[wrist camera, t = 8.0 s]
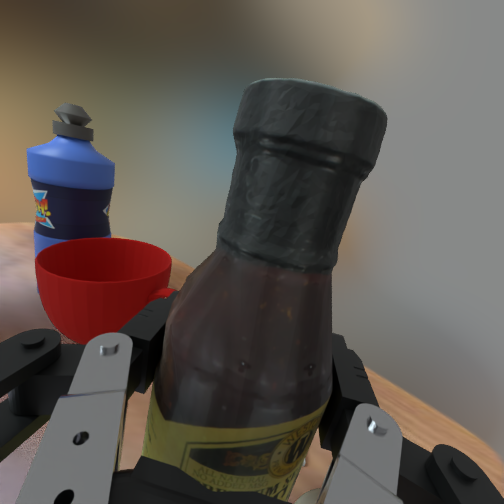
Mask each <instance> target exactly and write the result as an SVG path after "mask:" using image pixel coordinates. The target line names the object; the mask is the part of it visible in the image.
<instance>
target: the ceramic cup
mask: <svg viewBox="0 0 504 504" xmlns="http://www.w3.org/2000/svg"><path fill="white" fill-rule="evenodd" d="M171 265H172V259H171V257H170V255H169V254H168V253H167V252H166V251H164V250H163V249H161V248H159V247H157V246H154V245H151V244H148V243H145V242H140V241H136V240H129V239H121V238H83V239H75V240H69V241H64V242H60V243H57V244H54V245H51V246H49V247H47V248H45V249H43V250H42V251H41V252H39V253H38V255H37V256H36V258H35V270H36V278H37V284H38V289H39V294H40V298H41V301H42V304H43V307H44V309H45V311H46V313H47V315H48V317H49V318H50V320H51V322H52V323H53V325H54V326H55V327H56V328H57V329H58V330H59V331H60V332H61V333H63V334H64V335H65V336H67V337H68V338H69V339H71V340H73V341H75V342H77V343H79V344H82V345H83V344H87V343H88V342H89V341H90V340H92V339H93V338H95V337H97V336H99V335H102V334H105V333H116V332H118V331H119V330H120V329H121V328H122V327H123V326H124V325H125V324H126V323H127V322H129V321H130V320H131V319H132V318H133V317H134V316H135V315H137V314H138V313H139V312H140V311H141V310H143V308H144V307H145V306H146V305H147V304H148V303H150V302H151V301H154V300H156V299H159V298H163V299H164V298H165V297H168V296H169V295H170V294H171V293H172V292H173V291H177V290H174V289H171V288H167V287H168V283H169V278H170V272H171Z"/></svg>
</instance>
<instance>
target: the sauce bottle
mask: <svg viewBox="0 0 504 504" xmlns="http://www.w3.org/2000/svg"><path fill="white" fill-rule="evenodd" d="M386 127H387V115H386V113H385V112H384V110H383V109H382V108H381V107H380V106H379V105H378V104H377V103H376V102H374V101H372V100H369V99H367V98H364V97H362V96H360V95H358V94H356V93H351V92H346V91H343V90H340V89H338V88H335V87H333V86H330V85H325V84H321V83H317V82H311V81H306V80H303V79H296V78H290V79H282V78H269V79H262V80H258V81H256V82H253V83H251V84H249V85H248V86H247V87H245V89H244V93H243V96H242V99H241V102H240V106H239V109H238V113H237V116H236V120H235V123H234V127H233V135H234V140H235V144H236V149H237V156H236V162H235V166H234V169H233V173H232V181H231V186H230V190H229V194H228V198H227V202H226V208H225V213H224V218H223V219H222V221H221V222H220V223H219V227H218V232H217V245H216V249H215V251H214V252H212V254H211V255H210V256H209V257H208V258H207V259H205V260H204V261H203V262H202V263H201V265H199V266H198V267H197V268H196V269H195V270H194V271H193V272H192V273H191V274H190V275H189V276H188V277H187V278H186V282H185V283H184V285H183V287H182V288H181V290H180V291H179V293H178V295H177V297H176V298H175V299H174V301H173V303H172V305H171V309H170V311H169V315H168V318H167V321H166V328H165V336H164V341H163V350H162V355H161V358H160V360H159V361H158V364H157V366H156V369H155V374H154V379H153V385H152V392H151V398H150V405H149V411H148V417H147V424H146V430H145V437H144V443H143V449H142V456H145V457H148V458H151V459H154V460H157V461H160V462H164V463H167V464H170V465H173V466H176V467H178V468H180V469H181V470H182V471H184V472H185V473H187V474H188V475H189V476H191V477H192V478H194V479H195V480H196V481H198V482H199V483H201V484H202V485H203V486H205V487H206V488H208V489H209V490H211V491H216V492H224V491H255V492H258V493H261V494H264V495H267V496H270V497H273V498H276V499H280V500H283V501H286V502H288V499H289V496H290V493H291V491H292V488H293V486H294V484H295V481H296V479H297V477H298V474H299V472H300V469H301V467H302V465H303V462H304V459H305V457H306V454H307V452H308V450H309V447H310V445H311V442H312V440H313V438H314V435H315V433H316V430H317V428H318V426H319V423H320V421H321V418H322V416H323V414H324V412H325V409H326V406H327V403H328V401H329V398H330V396H331V393H332V389H333V382H332V284H331V283H332V274H331V273H332V270H333V267H334V266H335V265H336V263H337V258H338V247H339V244H340V241H341V238H342V235H343V232H344V230H345V228H346V224H347V221H348V218H349V216H350V213H351V210H352V207H353V204H354V201H355V198H356V195H357V193H358V190H359V188H360V185H361V183H362V182H363V181H364V180H365V179H366V178H367V177H368V175H369V173H370V172H371V171H372V169H373V168H374V166H375V164H376V160H377V157H378V154H379V152H380V148H381V143H382V140H383V137H384V134H385V131H386Z"/></svg>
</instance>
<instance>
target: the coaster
mask: <svg viewBox="0 0 504 504" xmlns="http://www.w3.org/2000/svg"><path fill="white" fill-rule="evenodd" d="M320 490H321V488H318V489H314V490H310V491H308V492H306V493H304V494H303V495H302V496H301V497H299V499H298V500H297V501H296V502H295V503H294V504H315V503H316V500H317V498H318V495H319V492H320Z"/></svg>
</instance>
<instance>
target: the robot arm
mask: <svg viewBox="0 0 504 504" xmlns="http://www.w3.org/2000/svg"><path fill="white" fill-rule="evenodd" d="M178 293H179V291H173V292H172V293H171V294H170V295H169V296H168V297H167V298H166V299H163V298H159V299H156V300H154V301H151V302H150V303H148V304H147V305H146V306H145V307H144V308H143V310H141V311H140V312H139V313H138V314H137V315H135V316H134V317H133V318H132V319H131V320H130V321H129V322H127V323H126V324H125V325H124V326H123V327H122V328H121V329H120V330H119V331H118V332H116V333H105V334H102V335H99V336H97V337H95V338H93V339H92V340H90V341H89V342H88V343H87V344H83V345H82V344H61V336H60V334H59V333H58V332H57V331H55V330H51V329H34V330H29V331H25V332H22V333H20V334H17V335H15V336H13V337H11V338H9V339H7V340H5V341H3V342H1V343H0V398H1V397H2V396H4V395H5V394H7V393H8V397H9V398H7V399H6V400H4V401H3V402H2V403H0V462H1V461H2V460H4V459H5V458H6V457H7V456H8V455H9V454H11V453H12V452H13V451H14V450H15V449H16V448H17V447H19V446H20V445H21V444H22V443H23V442H24V441H25V440H27V439H28V438H29V437H30V436H31V435H32V434H34V433H35V432H36V431H37V430H38V429H39V428H40V427H42V426H43V425H44V424H45V423H46V422H47V421H49V423H48V425H47V428H46V430H45V433H44V435H43V438H42V440H41V442H40V445H39V447H38V450H37V452H36V455H35V457H34V460H33V462H32V464H31V467H30V469H29V472H28V474H27V477H26V479H25V482H24V484H23V486H22V489H21V491H20V494H19V496H18V499H17V501H16V504H292V503H289V502H286V501H283V500H280V499H276V498H273V497H270V496H267V495H264V494H261V493H258V492H255V491H224V492H216V491H211V490H209V489H208V488H206V487H205V486H203V485H202V484H201V483H199V482H198V481H196V480H195V479H194V478H192V477H191V476H189V475H188V474H187V473H185V472H184V471H182V470H181V469H180V468H178V467H176V466H173V465H170V464H167V463H164V462H160V461H157V460H154V459H151V458H148V457H145V456H142V455H141V457H140V459H139V460H138V462H137V464H136V466H135V468H134V469H127V470H120V461H121V453H122V445H123V437H124V430H125V422H126V414H127V407H128V399H129V398H130V397H131V395H132V394H133V393H134V391H136V392H139V393H143V394H144V393H145V392H146V390H147V389H148V387H149V386H150V384H151V383H152V381H153V379H154V374H155V369H156V366H157V364H158V361H159V360H160V358H161V355H162V350H163V341H164V336H165V328H166V321H167V318H168V315H169V311H170V309H171V305H172V303H173V301H174V299H175V298H176V297H177V295H178ZM332 382H333V389H332V393H331V396H330V398H329V401H328V403H327V406H326V409H325V412H324V414H323V416H322V418H321V421H320V423H319V426H318V428H319V437H320V445H321V448H323V449H326V450H330V451H332V457H333V460H332V462H331V464H330V466H329V469H328V471H327V474H326V477H325V479H324V482H323V484H322V487H321V490H320V492H319V495H318V498H317V500H316V503H315V504H504V498H503V497H502V496H501V494H500V493H499V492H498V490H497V489H496V488H495V486H494V485H493V483H492V482H491V481H490V479H489V478H488V477H487V475H486V474H485V473H484V472H483V470H482V469H481V468H480V467H479V466H478V465H477V464H476V463H475V462H474V461H473V460H472V459H470V458H469V457H468V456H467V455H465V454H464V453H462V452H461V451H459V450H457V449H455V448H453V447H451V446H448V445H444V444H439V445H436V446H435V447H434V449H433V450H432V452H429V451H427V450H425V449H423V448H422V447H420V446H418V445H416V444H414V443H413V442H411V441H409V440H407V439H406V438H404V437H403V436H402V432H401V430H400V428H399V426H398V424H397V423H396V422H395V420H394V419H393V418H392V417H391V416H390V415H389V414H387V413H386V412H385V411H384V410H382V409H380V407H379V405H378V402H377V400H376V397H375V394H374V392H373V389H372V387H371V384H370V382H369V380H368V376H367V374H366V372H365V369H364V366H363V363H362V361H361V359H360V358H359V357H358V356H357V354H356V353H355V352H354V351H353V350H350V349H347V346H346V343H345V340H344V337H343V336H342V335H339V334H335V333H332ZM119 470H120V471H119Z"/></svg>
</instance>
